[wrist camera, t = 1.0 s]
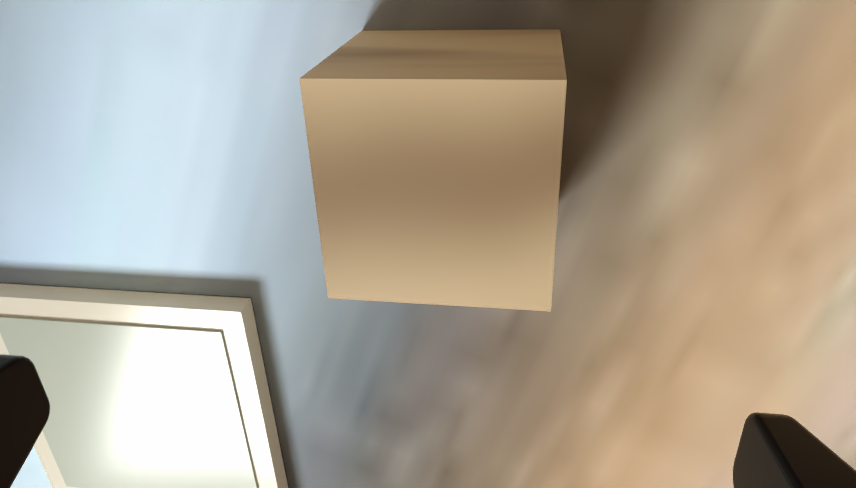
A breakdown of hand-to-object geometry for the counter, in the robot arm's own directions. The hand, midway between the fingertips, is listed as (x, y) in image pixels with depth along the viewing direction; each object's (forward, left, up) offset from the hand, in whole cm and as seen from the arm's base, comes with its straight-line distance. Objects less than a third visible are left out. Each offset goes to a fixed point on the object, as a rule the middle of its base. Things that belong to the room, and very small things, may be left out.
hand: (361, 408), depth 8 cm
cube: (0, 0, -11) cm, 11 cm away
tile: (-11, +12, -11) cm, 19 cm away
